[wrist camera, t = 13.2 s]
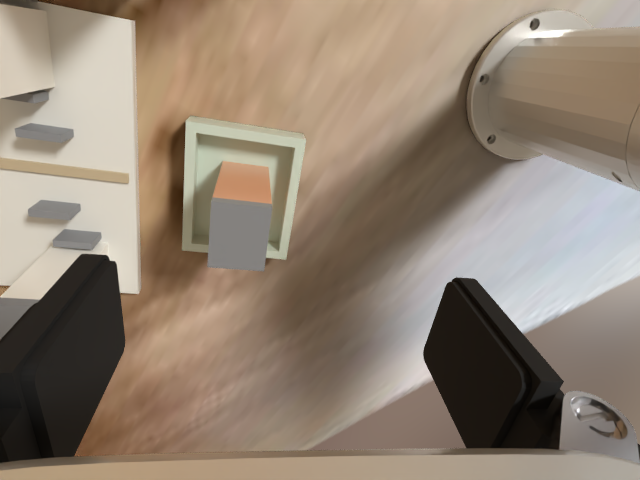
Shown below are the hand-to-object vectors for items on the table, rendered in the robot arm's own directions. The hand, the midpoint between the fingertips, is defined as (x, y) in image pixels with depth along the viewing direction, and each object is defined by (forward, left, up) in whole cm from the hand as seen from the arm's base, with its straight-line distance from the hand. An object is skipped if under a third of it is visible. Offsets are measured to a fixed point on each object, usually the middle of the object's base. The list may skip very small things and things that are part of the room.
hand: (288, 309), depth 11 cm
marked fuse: (+2, +6, -25) cm, 26 cm away
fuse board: (+17, +6, -26) cm, 31 cm away
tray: (+2, +6, -26) cm, 26 cm away
